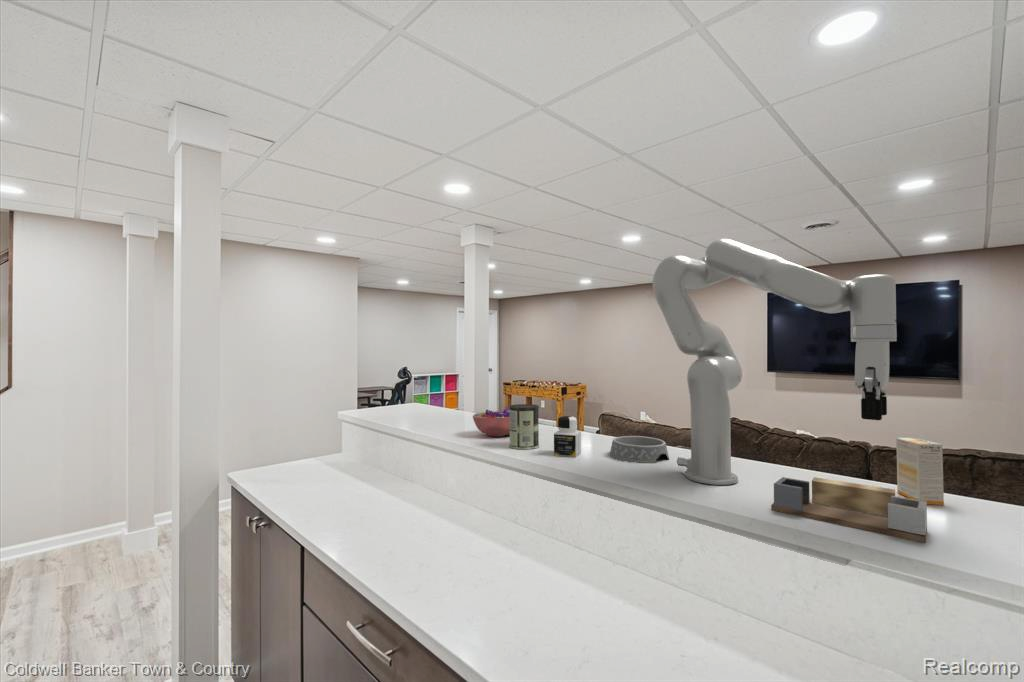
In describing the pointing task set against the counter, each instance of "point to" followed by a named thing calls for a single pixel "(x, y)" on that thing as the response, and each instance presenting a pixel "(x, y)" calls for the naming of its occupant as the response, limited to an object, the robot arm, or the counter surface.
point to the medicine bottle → (567, 437)
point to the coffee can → (524, 426)
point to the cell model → (493, 422)
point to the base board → (851, 520)
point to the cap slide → (907, 515)
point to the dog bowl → (638, 449)
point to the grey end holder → (791, 493)
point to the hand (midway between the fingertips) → (874, 416)
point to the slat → (851, 496)
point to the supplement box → (920, 470)
